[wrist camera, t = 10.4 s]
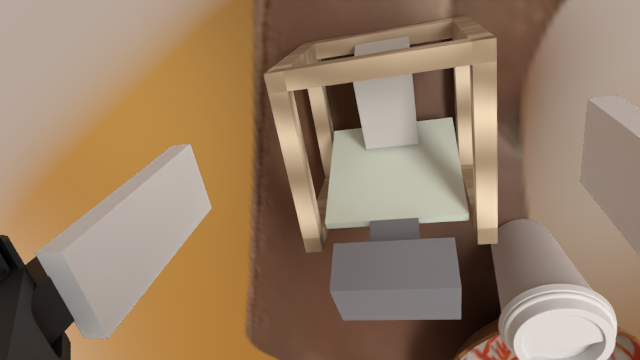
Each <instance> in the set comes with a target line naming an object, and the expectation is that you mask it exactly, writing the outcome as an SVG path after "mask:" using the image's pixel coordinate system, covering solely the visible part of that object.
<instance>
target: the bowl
mask: <svg viewBox="0 0 640 360" xmlns="http://www.w3.org/2000/svg"><path fill="white" fill-rule="evenodd" d="M498 323H499V319H496V320H494V321H493V322H491V323H489V324H487V325H485V326H484V327H482V328H480V329H479V330H478V331H477V332H476V333H475V334H473V335H472V336H471V337H470V338H469V339H468V340H467V341H465V343H464V344H463V345H462V346H461V348H460V349H459V350H458V352H457V353H456V354H455V356H454V358H453V359H452V360H519V358H517V357H516V356H515V355H514V354H513V353H512V352H511V351H510V350H509V349H508V348H507V346H506V345H505V343H504V342H503V340H502V338H501V336H500V333H499V328H498ZM615 339H616V342H615V347H614V350H613V352H612V354H611V355H610V357H609V358H608V359H607V360H640V339H639V338H637V337H635V336H634V335H632V334H630V333H629V332H627V331H625V330H624V329H621V328H620V327H618V326H617V335H616V338H615Z"/></svg>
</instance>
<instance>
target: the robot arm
mask: <svg viewBox="0 0 640 360" xmlns="http://www.w3.org/2000/svg"><path fill="white" fill-rule="evenodd" d="M586 113H587V114H586V123H585V134H584V145H583V156H582V166H581V176H580V182H581V183H582V185H583V186H584V187H585V188H586V190H587V191H588V192H589V193H590V195H591V196H592V197H593V198H594V200H595V201H596V202H597V203H598V205H599V206H600V207H601V209H602V210H603V211H604V212H605V213H606V215H607V216H608V217H609V219H610V220H611V221H612V222H613V224H614V225H615V226H616V227H617V229H618V230H619V231H620V232H621V234H622V235H623V236H624V237H625V239H626V240H627V241H628V242H629V244H630V245H631V246H632V247H633V249H634V250H635V251H636V253H637V254H638V255H639V256H640V109H638V108H637V107H635V106H634V105H632V104H630V103H629V102H627V101H626V100H624V99H623V98H621V97H619V96H618V95H615V96H606V97H597V98H589V99H588V102H587V112H586ZM211 208H212V207H211V204H210V201H209V199H208V196H207V192H206V190H205V187H204V184H203V181H202V178H201V175H200V172H199V169H198V166H197V163H196V160H195V157H194V154H193V151H192V148H191V145H190V144H185V145H176V146H171V147H170V148H169V149H167V150H166V151H165V152H163V153H162V154H161V155H160V156H158V157H157V158H156V159H155V160H153V161H152V162H151V163H149V164H148V165H147V166H146V167H145V168H144V169H142V170H141V171H139V172H138V173H137V174H135V175H134V176H133V177H132V178H130V179H129V180H128V181H127V182H125V183H124V184H123V185H121V186H120V187H119V188H118V189H116V190H115V191H114V192H113V193H111V194H110V195H109V196H107V197H106V198H105V199H104V200H102V201H101V202H100V203H99V204H97V205H96V206H95V207H93V208H92V209H91V210H90V211H88V212H87V213H86V214H85V215H83V216H82V217H81V218H80V219H78V220H77V221H76V222H74V223H73V224H72V225H71V226H69V227H68V228H67V229H66V230H64V231H63V232H62V233H60V234H59V235H58V236H57V237H55V238H54V239H53V240H52V241H50V242H49V243H48V244H46V245H45V246H44V247H43V248H41V249H40V250H39V251H37V252H36V253H35V254H36V257H35V258H34V259H33V260H31V261H30V262H29V263H28V264H26V265H25V264H24V263H23V261H22V259H21V258H20V256H19V255H18V253H17V251H16V249H15V248H14V246H13V244H12V243H11V241H10V239H9V238H8V236H4V235H0V360H71V359H70V357H71V356H70V355H71V354H70V352H71V351H70V348H71V347H70V346H71V345H70V344H71V343H70V341H69V339H68V337H67V335H66V333H65V332H64V331H65V330H66V329H67V328H68V327H69V326H70V325H71V324H72V323H73V322H75V324H76V326H77V327H78V329H79V331H80V333H81V334H82V336H83V338H97V339H98V338H99V339H104V338H105V339H108V338H109V337H110V336H111V335H112V333H113V332H114V331H115V330H116V328H117V327H118V326H119V324H120V323H121V322H122V321H123V319H124V318H125V317H126V316H127V314H128V313H129V312H130V311H131V309H132V308H133V307H134V305H135V304H136V303H137V302H138V300H139V299H140V298H141V297H142V295H143V294H144V293H145V292H146V290H147V289H148V288H149V287H150V285H151V284H152V283H153V282H154V280H155V279H156V278H157V276H158V275H159V274H160V273H161V271H162V270H163V269H164V268H165V266H166V265H167V264H168V262H169V261H170V260H171V259H172V257H173V256H174V255H175V254H176V252H177V251H178V250H179V249H180V247H181V246H182V244H183V243H184V242H185V241H186V239H187V238H188V237H189V236H190V235H191V233H192V232H193V231H194V230H195V228H196V227H197V226H198V225H199V223H200V222H201V221H202V220H203V218H204V217H205V216H206V214H207V213H208V212H209V211H210V209H211Z"/></svg>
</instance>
